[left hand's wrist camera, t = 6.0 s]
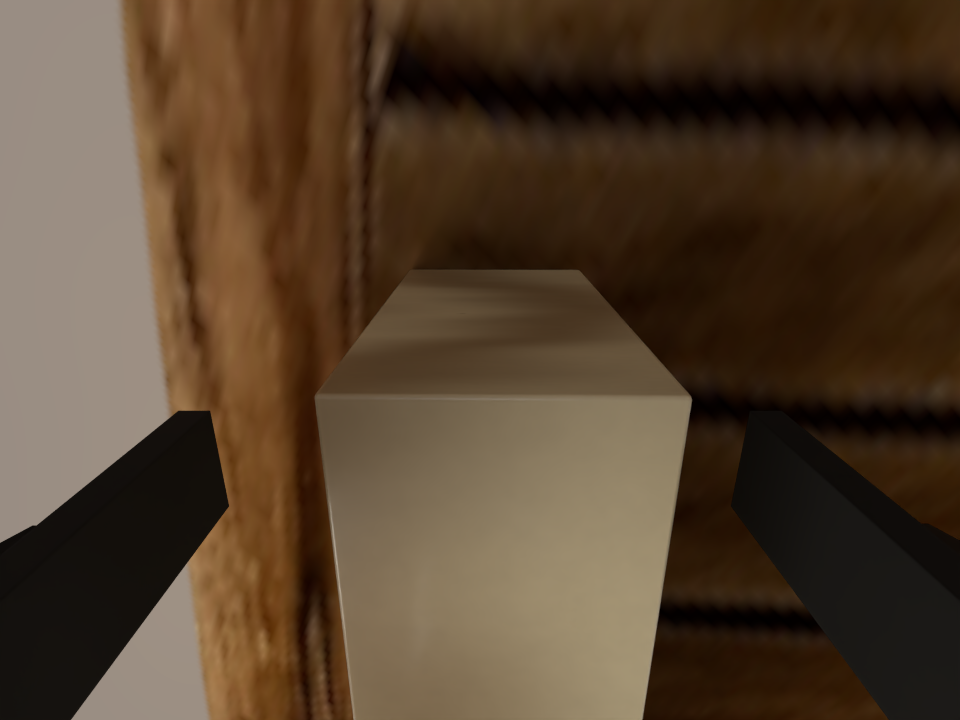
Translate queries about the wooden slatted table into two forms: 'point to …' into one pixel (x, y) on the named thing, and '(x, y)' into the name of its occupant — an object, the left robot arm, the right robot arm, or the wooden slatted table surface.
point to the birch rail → (500, 500)
